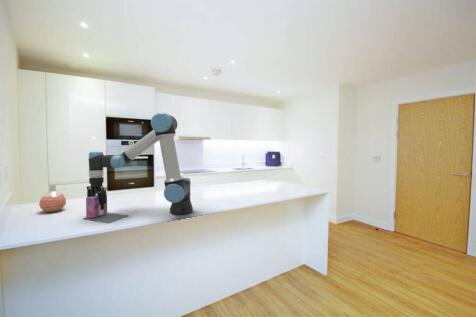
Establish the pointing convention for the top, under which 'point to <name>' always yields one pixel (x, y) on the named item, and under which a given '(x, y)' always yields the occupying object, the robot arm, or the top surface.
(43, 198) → the vase
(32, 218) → the top surface
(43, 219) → the top surface
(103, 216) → the mat
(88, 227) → the top surface
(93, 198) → the box
